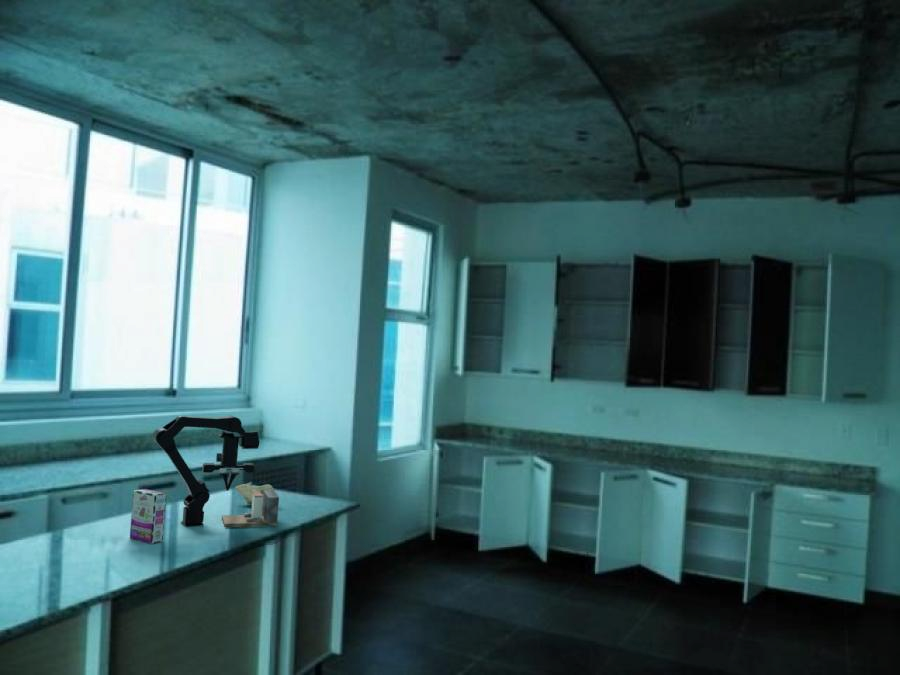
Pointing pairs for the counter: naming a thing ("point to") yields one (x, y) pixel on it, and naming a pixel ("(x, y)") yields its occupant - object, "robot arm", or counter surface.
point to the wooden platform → (267, 518)
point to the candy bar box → (148, 516)
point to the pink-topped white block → (257, 505)
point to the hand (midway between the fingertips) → (227, 490)
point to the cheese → (251, 491)
